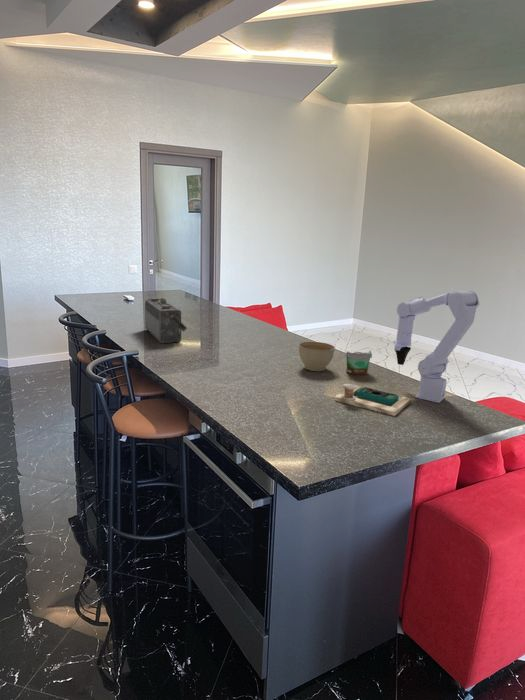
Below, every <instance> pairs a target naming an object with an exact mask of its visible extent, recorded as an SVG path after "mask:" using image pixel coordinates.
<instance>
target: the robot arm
mask: <svg viewBox="0 0 525 700" xmlns="http://www.w3.org/2000/svg"><path fill="white" fill-rule="evenodd" d="M479 300H480V299H479V296H478V294H477V293H476V292H475V291H473V290H468V291H467V290H466V291H452V292H446V293H443V294H440V295H437V296H433V297H430V298H428V297H426V296H418V298H417V299H414V300H413V299H410V300H408V302H401V303H399V304H398V305H397V307H396V314H397V315H398V322H397V323H398V324H397V333H396V340H393V342H392V343H393V344H395V345H394V352H395V355H396V360H397V365H401V366H403V365H405V362H406V359H407V356H408V354H409V353H410V351H411V350H412V348H411V346H412V335H413V328H414V321H415V319H416V316H417V315H421V314H424V313H428V312H430V311H431V309H432V308H434V307H437V306H441V305H445V306H448V308H449V309H450V312H451V313H452V315H453V317H454V319H455V320H454V322H453V323H452V325H451V326H450V327H449V329H448V330H447V332H446V333H445V335H444V336H443V337H442V339H441V340H440V341H439V343H438V345H436V348H435V349H434V350H433V352H431V353H429V354H428V355H426V356H425V357H424V358H423V359H421V360H420V361H419V362H418V364H417V370H418V373H419V375H420V379H419V388H418V393H417V394H416V395H414V398H417V399H421V400H425V401H429V402H433V403H438V404H439V403H441V402H442V401H443V400H444V399H445V395H446V389H447V382H448V381H447V379H446V378H443V377H442V376H443V375H442V374H444V373H445V371H446V369H447V366H448V364H449V362H450V361H449V359H448V358H449V356H450V355H451V354H452V352H453V351H454V349H456V347H457V346H458V344H459V343H460V341H461V340H462V339H463V337H464V336H465V334H466V333H467V332H468V331H469V330H470V328H471V327H472V325H473V323H474V322H475V317H476V312H477V308H478V307H479V306H480V301H479Z"/></svg>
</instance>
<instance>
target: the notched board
mask: <svg viewBox="0 0 525 700" xmlns="http://www.w3.org/2000/svg"><path fill="white" fill-rule="evenodd" d="M342 388H343V389H344V391H342V392H341V393H339V394H336V396H334V401H335V402H339V403H343V404H347V405H351V406H354V407H358V408H363V409H366V410H369V411H373V410H374V412H377V411H378V413H381V412H382V413H381V414H385V413H386V415H388V416H389V415H390V416H393V417H395V416H396V415H398V414H399V413H400V412H402V410H403V409H404V408H405V407H407V406H408V405H409V404H410V403H411V402H412V398H411V397H407V396H402V397H401V398H400V399H398V401H397V402H396V403H395V404H393V405H387V404H383V403H382V404H381V403H379V402H375V401H371V400H370V401H369V400H367V399H363V398H359V397H358V398H357V397H356V396H355V395H357V391H358V390H359V389H361V388H363V387H362V386H360V385H356V384H353V383H345V384H342Z"/></svg>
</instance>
